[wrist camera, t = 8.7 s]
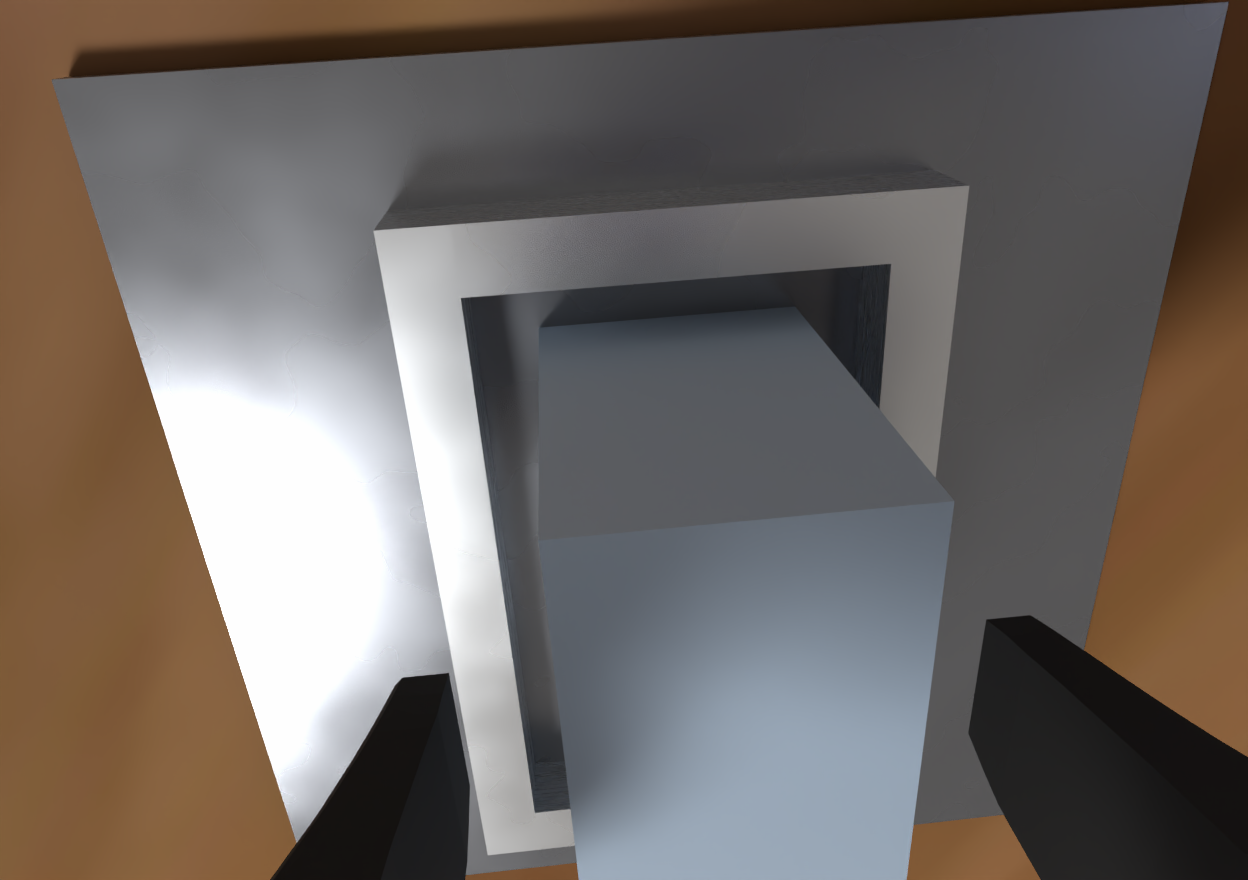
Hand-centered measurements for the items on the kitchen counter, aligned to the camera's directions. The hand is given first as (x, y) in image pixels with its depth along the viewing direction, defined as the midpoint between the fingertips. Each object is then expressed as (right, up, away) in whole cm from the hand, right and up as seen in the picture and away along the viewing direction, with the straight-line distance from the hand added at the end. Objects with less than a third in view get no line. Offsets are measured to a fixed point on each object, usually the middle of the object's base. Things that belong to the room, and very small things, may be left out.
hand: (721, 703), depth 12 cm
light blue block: (0, +2, +4) cm, 4 cm away
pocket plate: (0, +2, +4) cm, 4 cm away
